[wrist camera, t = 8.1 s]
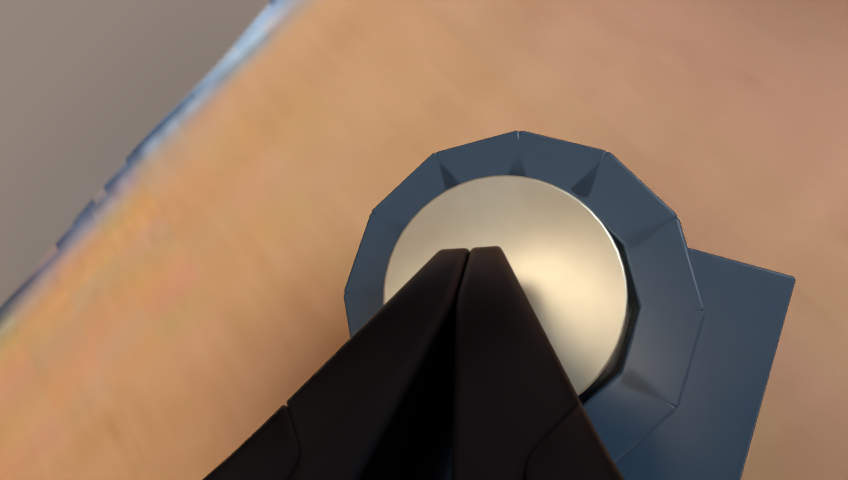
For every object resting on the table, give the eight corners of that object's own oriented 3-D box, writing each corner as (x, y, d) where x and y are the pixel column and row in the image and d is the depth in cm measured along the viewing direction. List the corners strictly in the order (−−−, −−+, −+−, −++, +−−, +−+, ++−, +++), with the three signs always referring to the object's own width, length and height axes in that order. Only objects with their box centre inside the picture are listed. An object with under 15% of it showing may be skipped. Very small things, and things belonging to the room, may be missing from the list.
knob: (584, 440, 13) (584, 459, 10) (388, 367, 14) (350, 369, 12) (646, 234, 13) (660, 210, 11) (450, 181, 14) (425, 149, 12)
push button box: (646, 644, 17) (684, 812, 11) (349, 509, 20) (242, 582, 13) (756, 256, 18) (848, 206, 12) (460, 177, 21) (407, 101, 14)
